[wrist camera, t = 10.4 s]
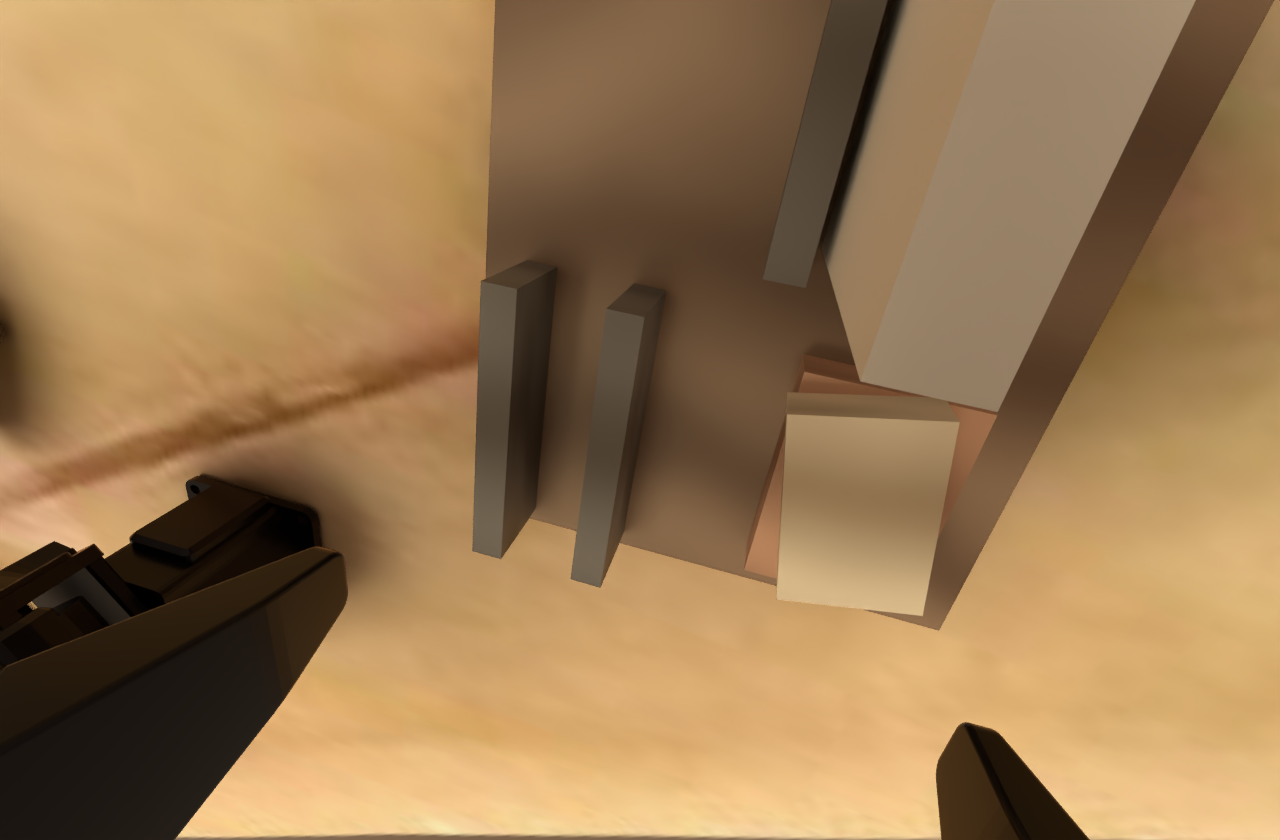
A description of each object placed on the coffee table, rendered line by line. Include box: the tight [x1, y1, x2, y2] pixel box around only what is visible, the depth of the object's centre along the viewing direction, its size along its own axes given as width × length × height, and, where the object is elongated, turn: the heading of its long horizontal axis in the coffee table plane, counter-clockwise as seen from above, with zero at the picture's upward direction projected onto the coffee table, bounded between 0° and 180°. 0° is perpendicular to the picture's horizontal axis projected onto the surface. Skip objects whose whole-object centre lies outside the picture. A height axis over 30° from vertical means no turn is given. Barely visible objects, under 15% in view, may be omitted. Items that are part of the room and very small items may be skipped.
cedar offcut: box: [744, 354, 997, 579], centre depth 18 cm, size 7×5×2 cm
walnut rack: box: [472, 0, 1274, 630], centre depth 16 cm, size 20×17×4 cm
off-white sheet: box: [822, 0, 1196, 412], centre depth 10 cm, size 8×2×10 cm, turn 171°
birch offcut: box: [776, 392, 960, 616], centre depth 17 cm, size 6×4×2 cm, turn 3°
